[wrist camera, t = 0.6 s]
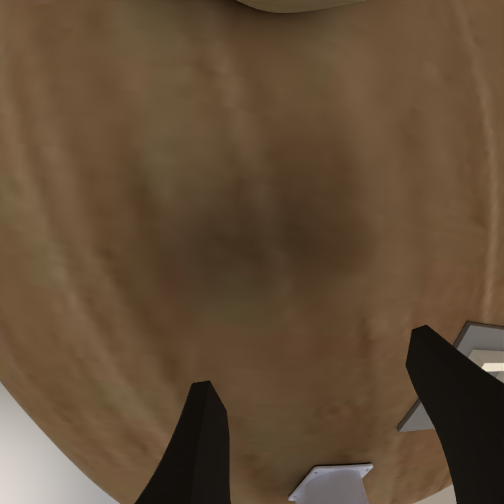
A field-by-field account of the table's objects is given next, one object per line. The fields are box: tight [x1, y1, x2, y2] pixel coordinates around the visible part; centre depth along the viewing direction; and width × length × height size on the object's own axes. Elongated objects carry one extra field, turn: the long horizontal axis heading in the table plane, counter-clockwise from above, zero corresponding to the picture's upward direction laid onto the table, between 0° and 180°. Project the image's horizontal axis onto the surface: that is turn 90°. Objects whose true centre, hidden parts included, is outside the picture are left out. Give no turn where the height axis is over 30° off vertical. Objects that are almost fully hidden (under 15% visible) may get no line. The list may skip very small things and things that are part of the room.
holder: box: [397, 322, 504, 432], centre depth 25 cm, size 14×14×3 cm
